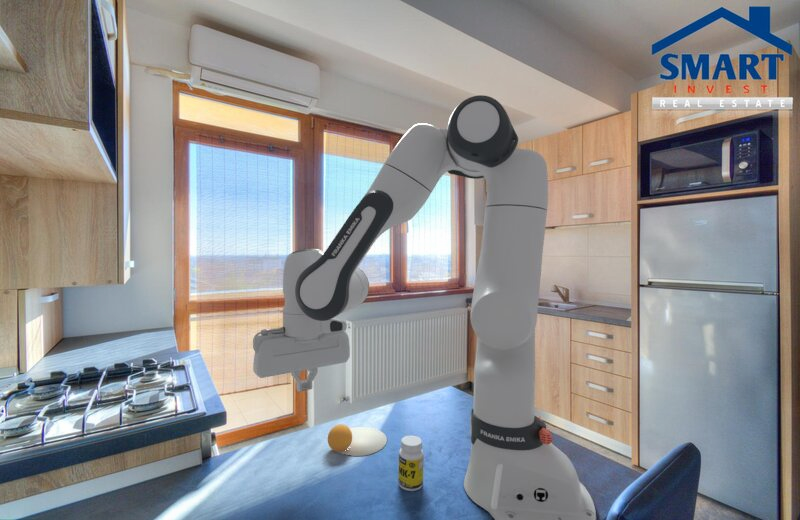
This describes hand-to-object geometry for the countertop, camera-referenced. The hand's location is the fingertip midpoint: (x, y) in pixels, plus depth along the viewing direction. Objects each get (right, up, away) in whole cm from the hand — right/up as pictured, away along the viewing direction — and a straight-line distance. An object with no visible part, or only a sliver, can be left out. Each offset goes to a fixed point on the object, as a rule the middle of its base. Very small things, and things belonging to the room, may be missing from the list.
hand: (304, 389), depth 74 cm
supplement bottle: (+22, -16, -7) cm, 28 cm away
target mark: (+11, -15, +8) cm, 20 cm away
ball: (+7, -12, +4) cm, 15 cm away
